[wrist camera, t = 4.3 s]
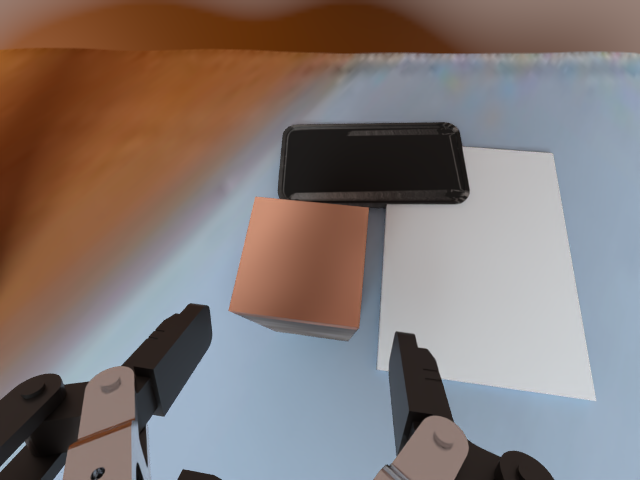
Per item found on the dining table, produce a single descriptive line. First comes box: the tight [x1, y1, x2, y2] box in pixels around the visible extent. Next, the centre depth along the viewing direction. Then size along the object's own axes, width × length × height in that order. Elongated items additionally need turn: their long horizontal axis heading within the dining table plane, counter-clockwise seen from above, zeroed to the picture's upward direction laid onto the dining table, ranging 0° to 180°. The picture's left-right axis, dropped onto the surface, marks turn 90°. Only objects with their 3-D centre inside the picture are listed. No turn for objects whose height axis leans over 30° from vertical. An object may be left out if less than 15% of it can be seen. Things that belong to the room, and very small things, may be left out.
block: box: [229, 197, 369, 341], centre depth 17 cm, size 5×5×10 cm
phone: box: [278, 122, 470, 208], centre depth 25 cm, size 8×1×15 cm
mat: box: [376, 147, 596, 401], centre depth 22 cm, size 13×18×1 cm
